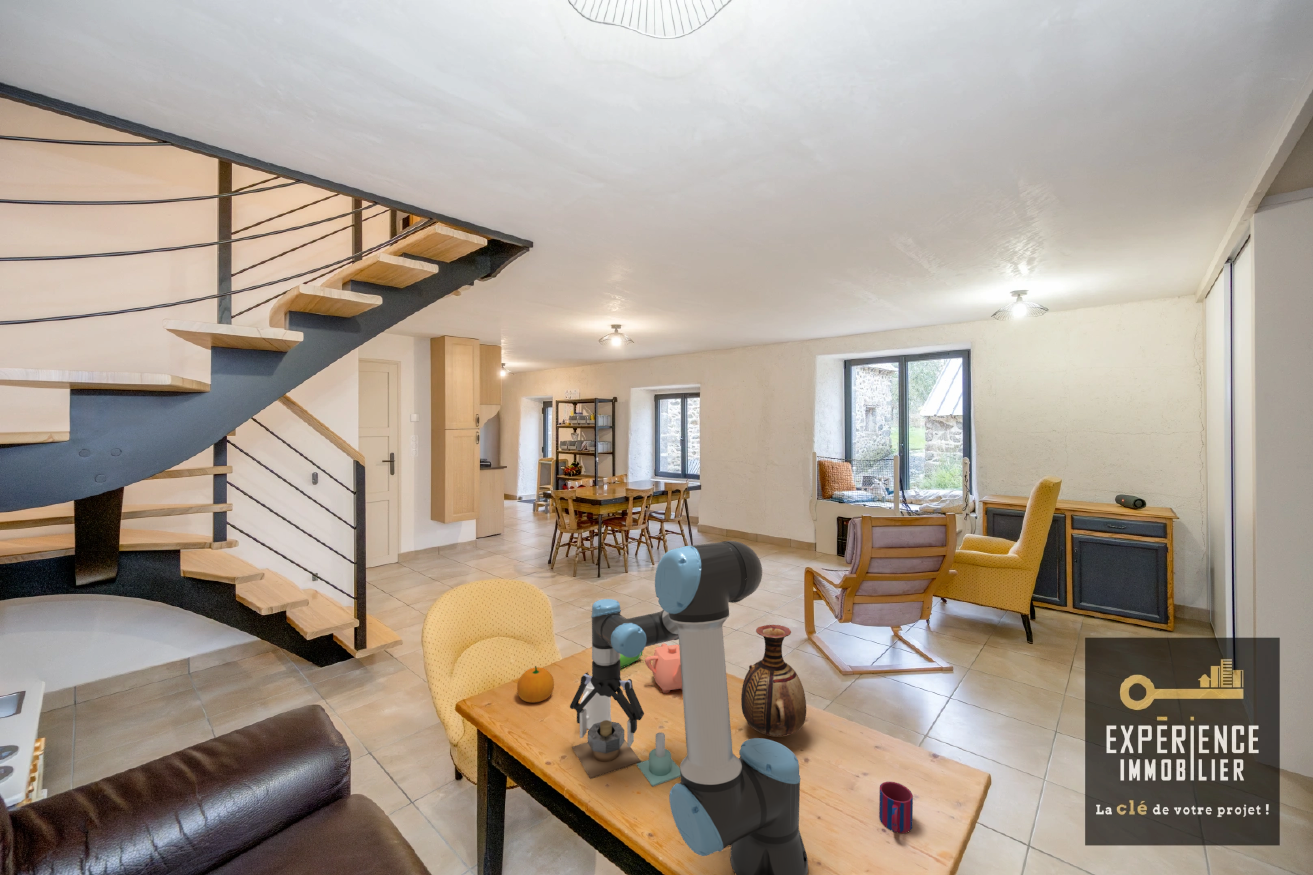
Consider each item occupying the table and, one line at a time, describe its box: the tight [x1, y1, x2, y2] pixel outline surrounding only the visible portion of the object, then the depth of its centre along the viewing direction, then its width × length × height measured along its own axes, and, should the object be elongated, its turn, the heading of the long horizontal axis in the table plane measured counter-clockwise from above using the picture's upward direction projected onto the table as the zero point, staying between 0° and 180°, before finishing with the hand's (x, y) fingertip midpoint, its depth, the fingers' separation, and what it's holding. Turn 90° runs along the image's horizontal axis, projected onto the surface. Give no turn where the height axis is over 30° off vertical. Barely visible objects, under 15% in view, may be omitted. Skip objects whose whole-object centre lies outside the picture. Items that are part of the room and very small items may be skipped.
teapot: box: [644, 642, 682, 694], centre depth 175 cm, size 17×16×13 cm
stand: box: [636, 732, 681, 788], centre depth 132 cm, size 9×9×9 cm
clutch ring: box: [587, 721, 625, 753], centre depth 138 cm, size 9×9×3 cm
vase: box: [740, 624, 807, 737], centre depth 148 cm, size 21×18×30 cm
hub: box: [572, 720, 642, 780], centre depth 138 cm, size 14×14×8 cm
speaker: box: [620, 650, 644, 670], centre depth 190 cm, size 18×7×8 cm, turn 136°
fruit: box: [516, 665, 555, 704], centre depth 167 cm, size 12×12×10 cm
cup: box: [878, 781, 914, 834], centre depth 114 cm, size 7×10×7 cm
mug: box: [580, 681, 612, 730], centre depth 152 cm, size 12×8×12 cm
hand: (606, 739), depth 138 cm, fingers open, 13 cm apart
